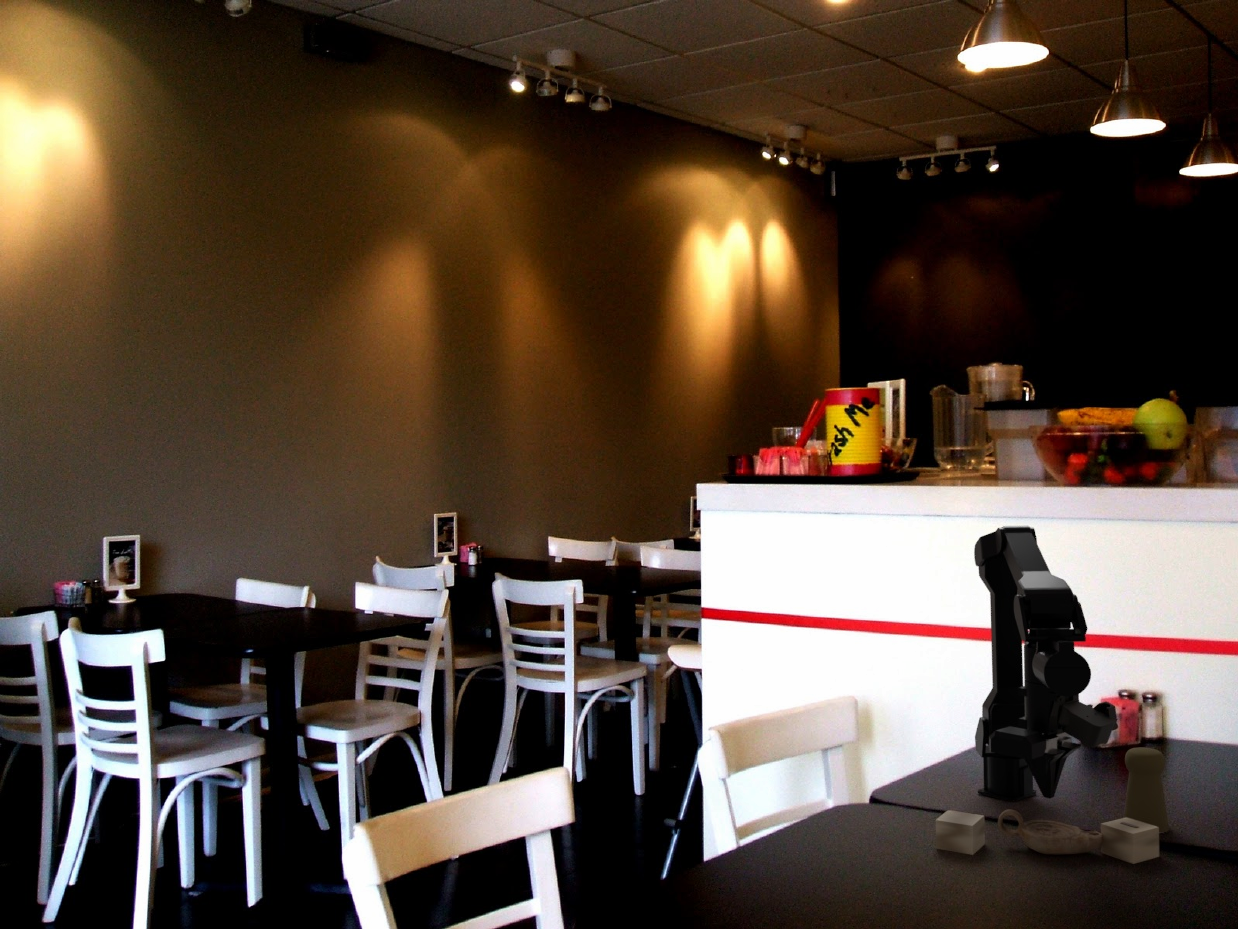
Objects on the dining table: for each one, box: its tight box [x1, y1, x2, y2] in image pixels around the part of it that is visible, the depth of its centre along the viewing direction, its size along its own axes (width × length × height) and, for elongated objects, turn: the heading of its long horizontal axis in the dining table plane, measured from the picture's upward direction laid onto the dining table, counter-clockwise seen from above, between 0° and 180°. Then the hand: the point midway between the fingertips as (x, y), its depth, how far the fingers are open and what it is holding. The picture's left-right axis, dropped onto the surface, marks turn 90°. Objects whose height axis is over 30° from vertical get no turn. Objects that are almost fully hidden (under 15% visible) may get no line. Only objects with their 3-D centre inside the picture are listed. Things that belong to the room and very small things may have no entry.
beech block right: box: [1100, 817, 1160, 865], centre depth 162 cm, size 5×5×4 cm
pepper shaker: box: [1122, 746, 1170, 833], centre depth 173 cm, size 6×6×11 cm
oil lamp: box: [997, 808, 1103, 855], centre depth 164 cm, size 13×8×5 cm, turn 65°
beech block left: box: [935, 809, 986, 856], centre depth 167 cm, size 5×5×4 cm
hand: (1048, 797), depth 164 cm, fingers closed
